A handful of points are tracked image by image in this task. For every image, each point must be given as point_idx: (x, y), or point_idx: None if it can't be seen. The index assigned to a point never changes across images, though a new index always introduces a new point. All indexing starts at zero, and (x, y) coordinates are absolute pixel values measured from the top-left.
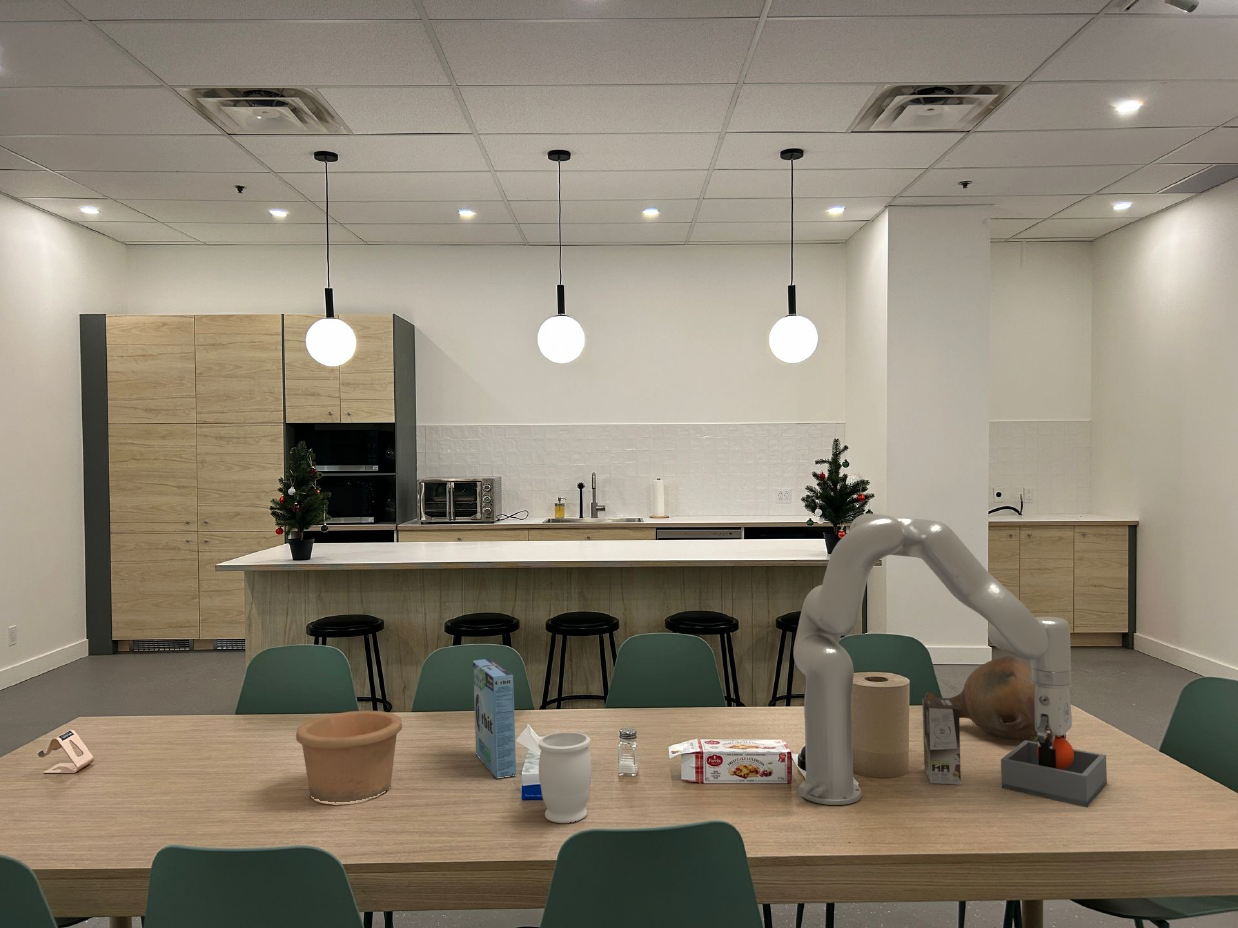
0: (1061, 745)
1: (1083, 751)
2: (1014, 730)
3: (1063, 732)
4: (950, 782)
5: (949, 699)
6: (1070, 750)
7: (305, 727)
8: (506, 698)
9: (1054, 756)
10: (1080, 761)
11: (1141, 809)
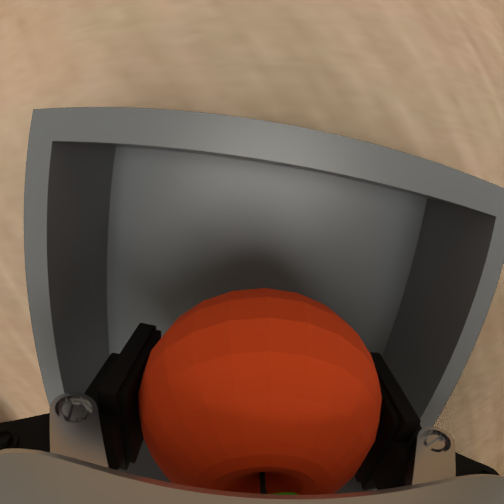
0: (361, 418)
1: (33, 242)
2: None
3: (439, 500)
4: None
5: None
6: (320, 339)
7: None
8: None
9: (400, 394)
10: (78, 244)
11: (359, 3)
